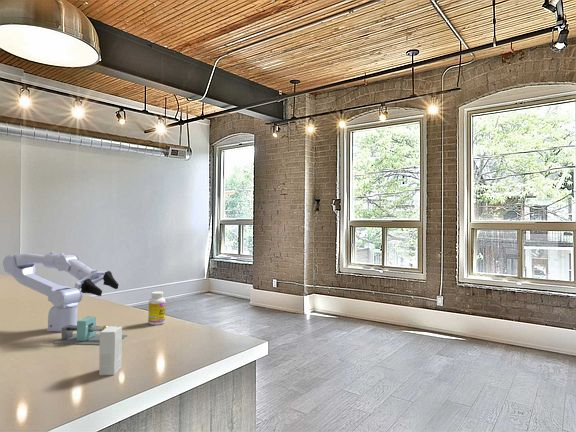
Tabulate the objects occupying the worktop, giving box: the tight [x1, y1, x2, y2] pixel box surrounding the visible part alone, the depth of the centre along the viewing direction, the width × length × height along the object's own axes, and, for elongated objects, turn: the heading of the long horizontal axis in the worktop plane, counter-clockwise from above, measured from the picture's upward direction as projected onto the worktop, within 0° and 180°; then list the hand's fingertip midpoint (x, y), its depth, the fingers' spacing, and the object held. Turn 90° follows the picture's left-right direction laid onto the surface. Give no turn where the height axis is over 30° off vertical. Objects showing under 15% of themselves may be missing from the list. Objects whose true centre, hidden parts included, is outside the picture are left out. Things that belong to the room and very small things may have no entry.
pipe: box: [60, 325, 123, 340], centre depth 139 cm, size 20×4×5 cm, turn 88°
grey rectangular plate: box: [53, 333, 128, 346], centre depth 139 cm, size 21×11×1 cm, turn 88°
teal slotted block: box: [76, 315, 97, 341], centre depth 139 cm, size 3×7×7 cm, turn 178°
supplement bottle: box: [147, 290, 166, 326], centre depth 163 cm, size 7×7×13 cm
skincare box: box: [98, 325, 123, 376], centre depth 110 cm, size 6×4×12 cm
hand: (109, 290), depth 146 cm, fingers open, 7 cm apart
